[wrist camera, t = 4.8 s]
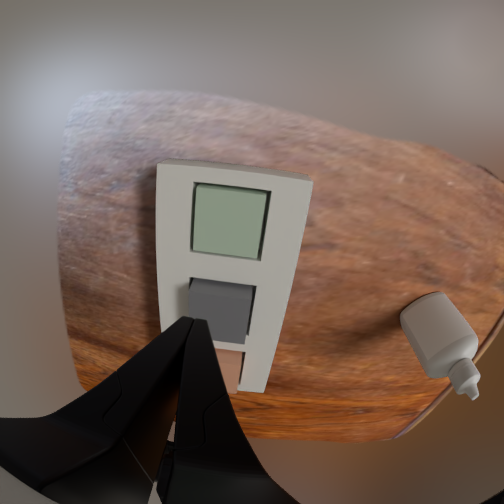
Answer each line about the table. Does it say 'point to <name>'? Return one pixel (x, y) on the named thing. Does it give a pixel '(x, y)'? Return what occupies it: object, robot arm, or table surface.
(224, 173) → the keypad frame
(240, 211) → the sage key
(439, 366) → the eye dropper bottle
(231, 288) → the charcoal key
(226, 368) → the terracotta key
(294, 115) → the table surface
